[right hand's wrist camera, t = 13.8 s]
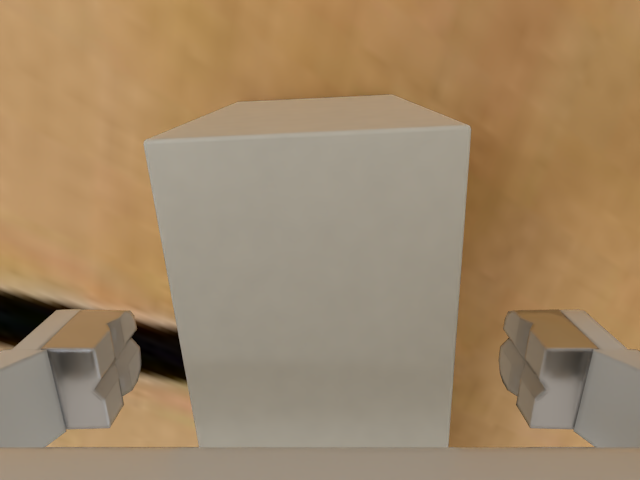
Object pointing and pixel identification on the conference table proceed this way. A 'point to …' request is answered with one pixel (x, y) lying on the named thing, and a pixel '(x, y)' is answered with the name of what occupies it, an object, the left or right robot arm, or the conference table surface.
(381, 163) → the bar
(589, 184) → the conference table surface
